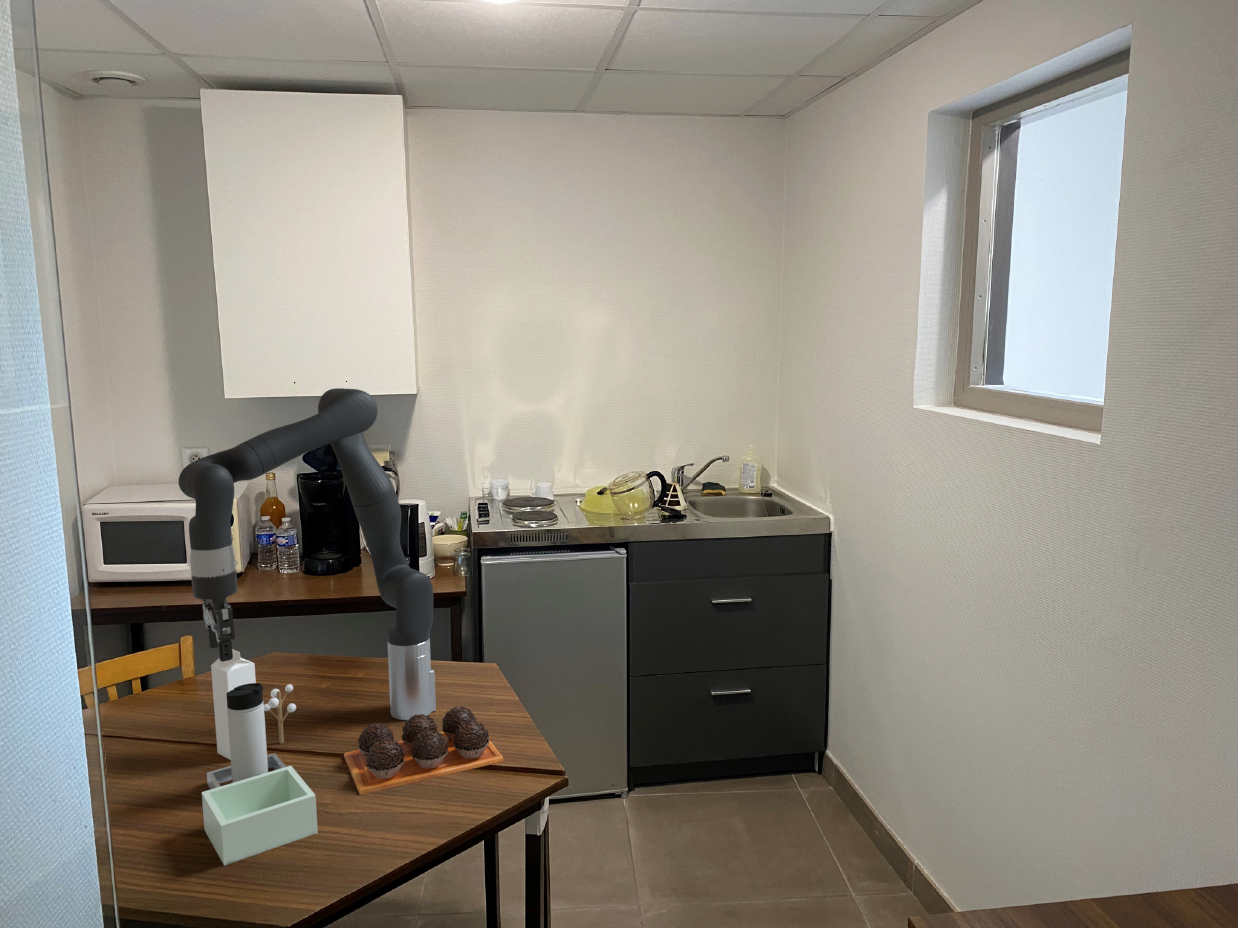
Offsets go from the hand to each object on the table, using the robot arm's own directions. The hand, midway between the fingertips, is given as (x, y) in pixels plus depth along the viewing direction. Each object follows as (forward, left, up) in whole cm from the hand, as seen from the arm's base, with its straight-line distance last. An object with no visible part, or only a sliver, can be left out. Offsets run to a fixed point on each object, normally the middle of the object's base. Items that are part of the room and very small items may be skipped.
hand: (220, 653), depth 162 cm
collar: (-2, +5, -25) cm, 26 cm away
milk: (-4, -11, -26) cm, 28 cm away
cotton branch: (-13, -10, -26) cm, 30 cm away
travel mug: (-3, +5, -26) cm, 26 cm away
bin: (+1, +22, -25) cm, 34 cm away
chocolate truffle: (-33, +16, -26) cm, 45 cm away
